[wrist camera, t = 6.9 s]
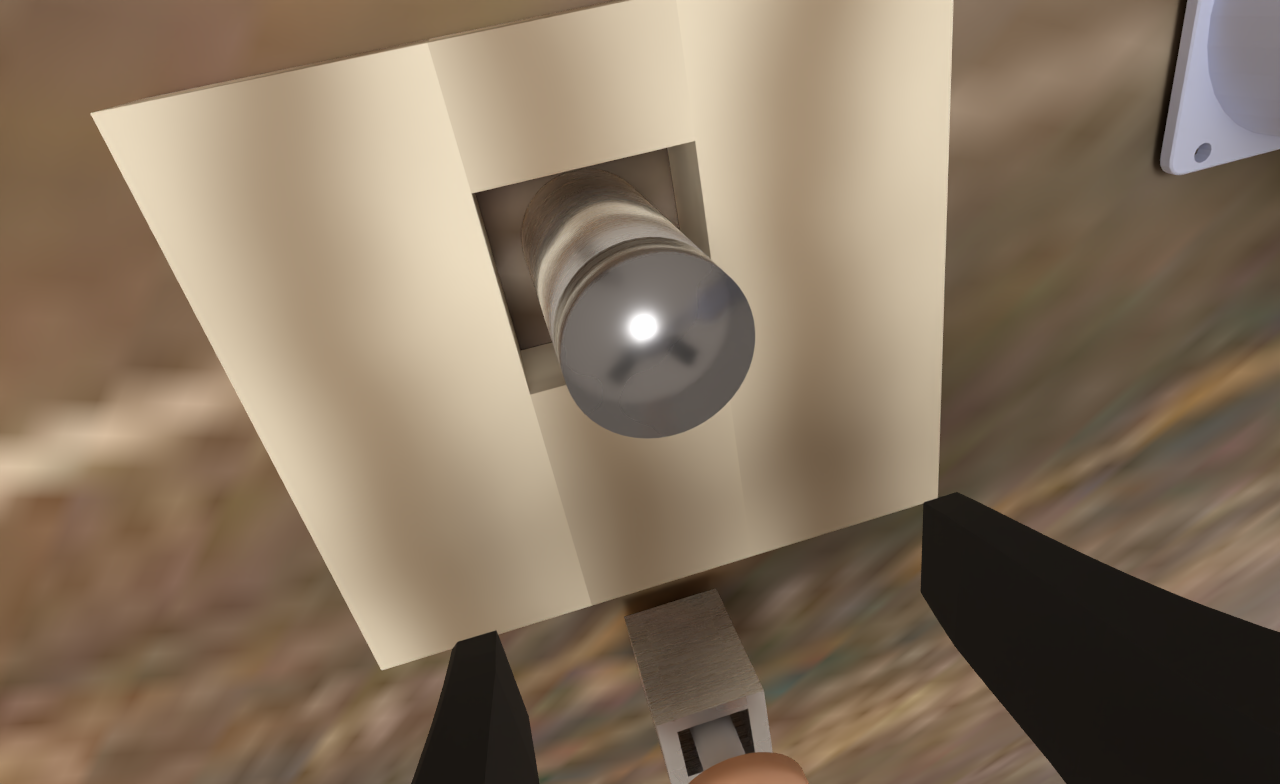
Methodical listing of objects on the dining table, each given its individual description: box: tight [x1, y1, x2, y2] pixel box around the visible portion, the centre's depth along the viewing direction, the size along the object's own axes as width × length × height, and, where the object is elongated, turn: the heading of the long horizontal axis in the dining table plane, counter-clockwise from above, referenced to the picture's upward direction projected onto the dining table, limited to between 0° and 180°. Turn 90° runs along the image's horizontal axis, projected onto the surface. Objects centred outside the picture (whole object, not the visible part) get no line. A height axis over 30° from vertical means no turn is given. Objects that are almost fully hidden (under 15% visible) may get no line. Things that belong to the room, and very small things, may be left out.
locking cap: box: [688, 715, 809, 784], centre depth 20 cm, size 4×4×4 cm
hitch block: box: [90, 0, 953, 670], centre depth 18 cm, size 16×14×2 cm
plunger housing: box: [624, 588, 773, 784], centre depth 22 cm, size 3×3×4 cm
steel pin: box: [521, 169, 755, 439], centre depth 15 cm, size 3×3×7 cm
